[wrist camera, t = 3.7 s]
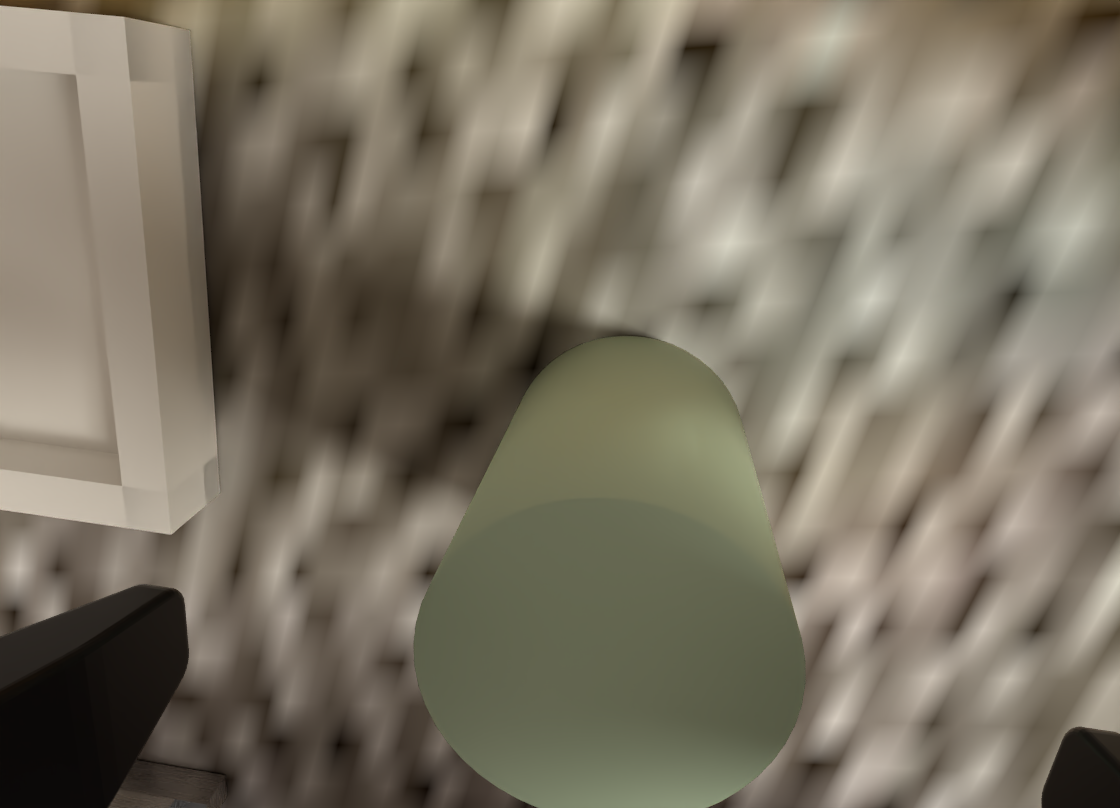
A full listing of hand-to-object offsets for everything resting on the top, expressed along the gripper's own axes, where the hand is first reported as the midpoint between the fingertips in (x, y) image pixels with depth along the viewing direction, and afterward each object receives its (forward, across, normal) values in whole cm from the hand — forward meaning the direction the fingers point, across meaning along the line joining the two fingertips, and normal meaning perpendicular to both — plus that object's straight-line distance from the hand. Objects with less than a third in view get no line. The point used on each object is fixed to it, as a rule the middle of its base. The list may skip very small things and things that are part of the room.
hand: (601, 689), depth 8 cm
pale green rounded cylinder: (+6, 0, 0) cm, 6 cm away
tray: (+6, +12, -2) cm, 14 cm away
